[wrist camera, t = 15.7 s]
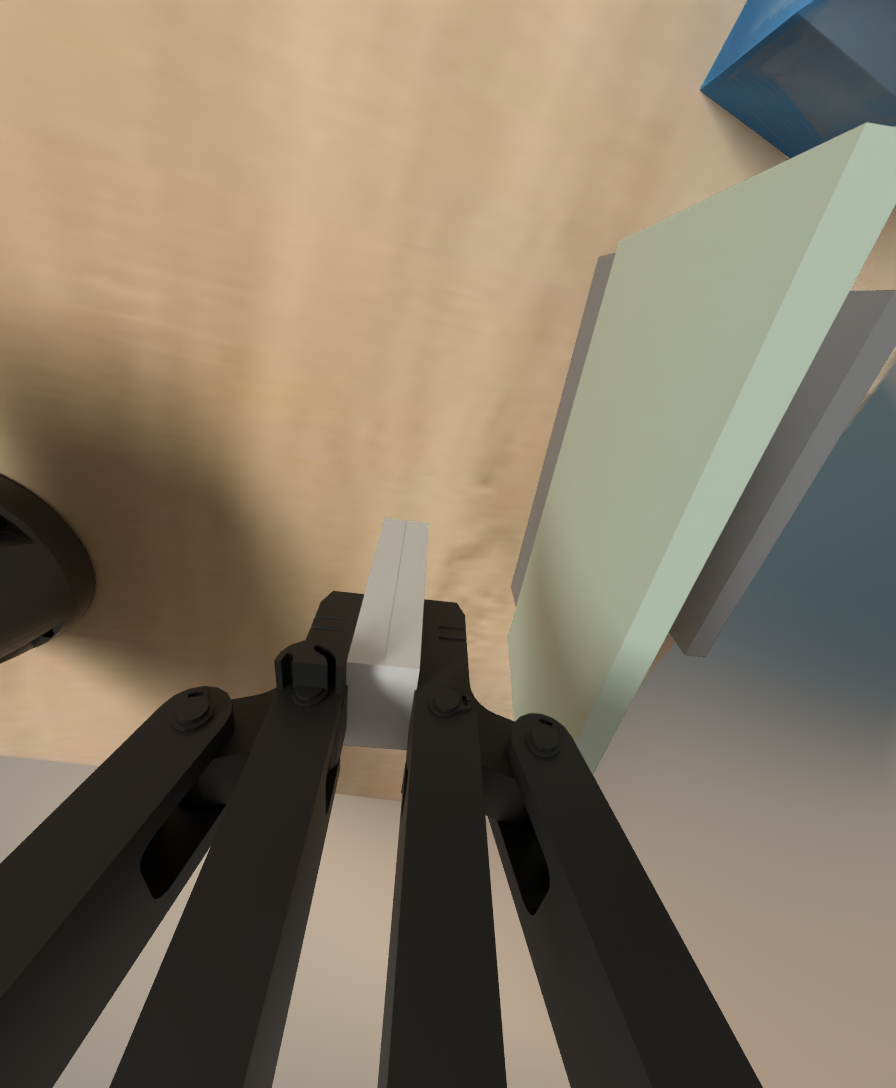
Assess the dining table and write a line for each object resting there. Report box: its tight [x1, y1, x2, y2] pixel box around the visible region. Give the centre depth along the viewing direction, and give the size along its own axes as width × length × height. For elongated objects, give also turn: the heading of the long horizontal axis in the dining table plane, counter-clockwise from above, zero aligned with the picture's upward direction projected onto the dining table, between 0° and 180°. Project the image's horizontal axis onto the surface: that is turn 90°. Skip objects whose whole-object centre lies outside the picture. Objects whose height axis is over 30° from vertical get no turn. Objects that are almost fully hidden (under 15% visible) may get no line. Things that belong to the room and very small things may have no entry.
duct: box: [511, 253, 896, 657], centre depth 26 cm, size 13×22×6 cm, turn 172°
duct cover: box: [508, 122, 896, 774], centre depth 17 cm, size 13×22×1 cm
